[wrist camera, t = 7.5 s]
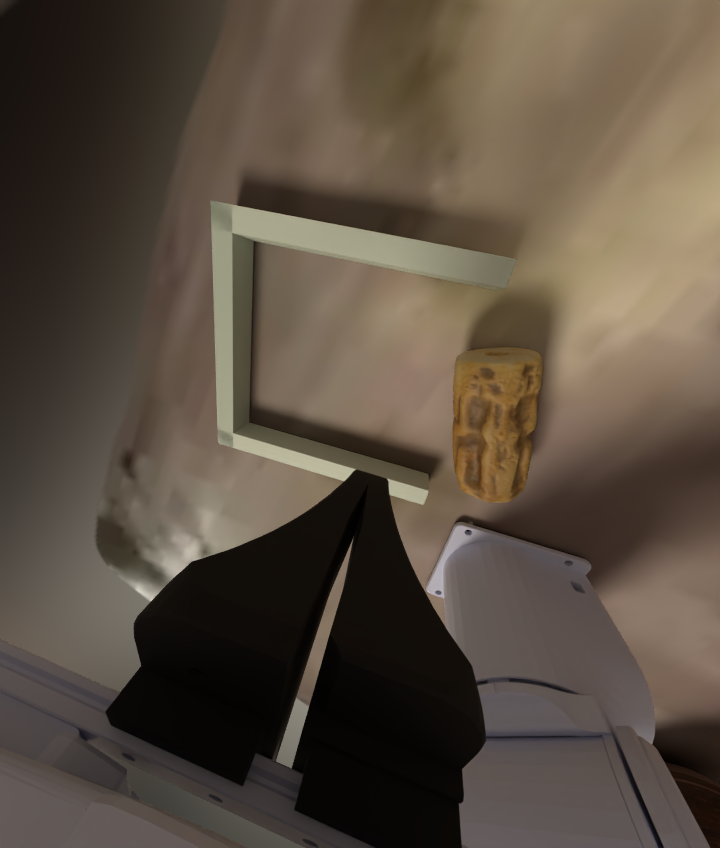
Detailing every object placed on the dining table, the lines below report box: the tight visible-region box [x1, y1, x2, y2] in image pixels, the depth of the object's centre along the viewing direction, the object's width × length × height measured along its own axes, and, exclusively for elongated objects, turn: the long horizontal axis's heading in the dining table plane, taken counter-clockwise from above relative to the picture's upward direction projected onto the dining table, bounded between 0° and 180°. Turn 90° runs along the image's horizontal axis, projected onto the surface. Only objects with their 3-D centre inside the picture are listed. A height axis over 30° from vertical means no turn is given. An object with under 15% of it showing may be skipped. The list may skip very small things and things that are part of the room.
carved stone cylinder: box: [453, 347, 543, 502], centre depth 16 cm, size 8×4×4 cm, turn 7°
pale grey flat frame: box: [211, 201, 517, 505], centre depth 17 cm, size 15×14×2 cm
